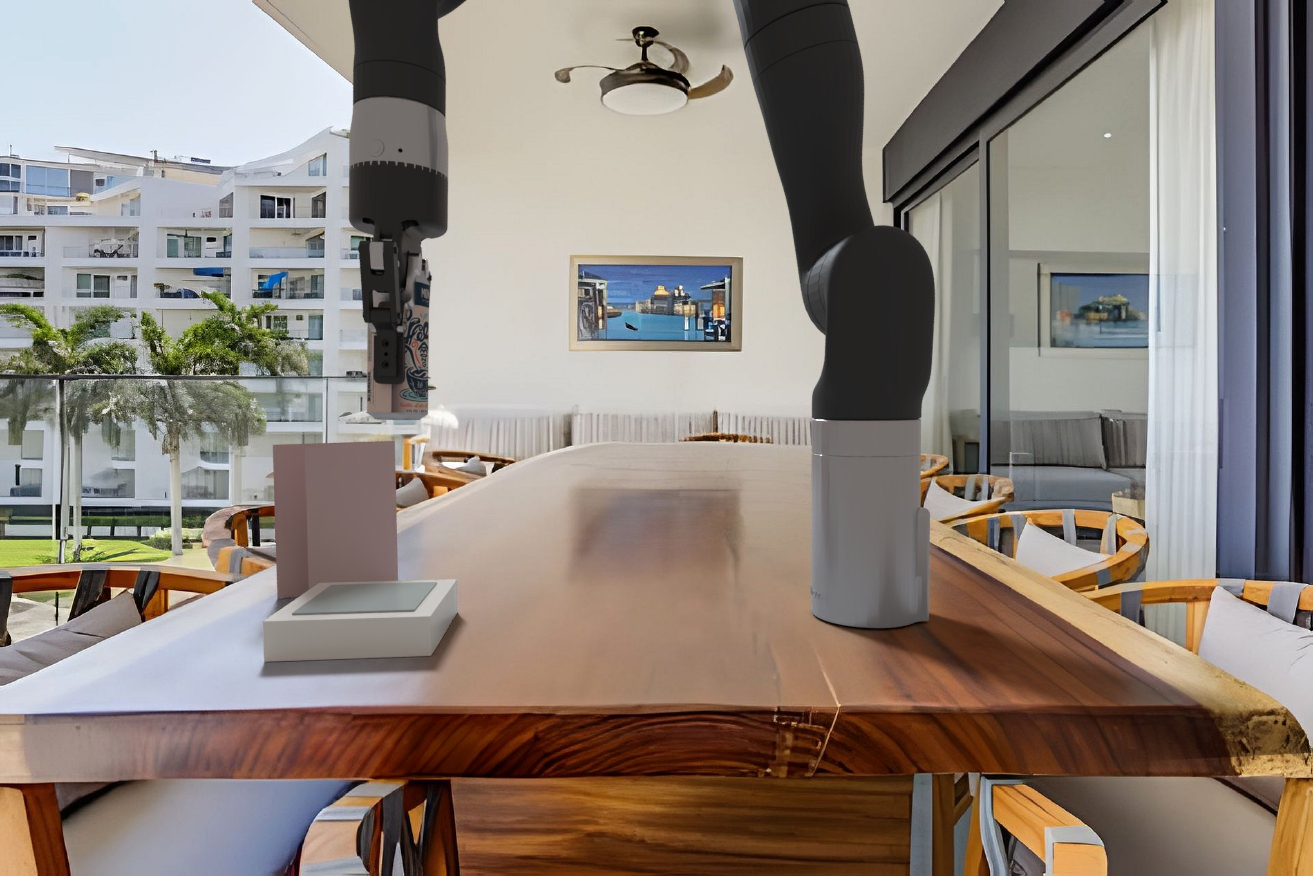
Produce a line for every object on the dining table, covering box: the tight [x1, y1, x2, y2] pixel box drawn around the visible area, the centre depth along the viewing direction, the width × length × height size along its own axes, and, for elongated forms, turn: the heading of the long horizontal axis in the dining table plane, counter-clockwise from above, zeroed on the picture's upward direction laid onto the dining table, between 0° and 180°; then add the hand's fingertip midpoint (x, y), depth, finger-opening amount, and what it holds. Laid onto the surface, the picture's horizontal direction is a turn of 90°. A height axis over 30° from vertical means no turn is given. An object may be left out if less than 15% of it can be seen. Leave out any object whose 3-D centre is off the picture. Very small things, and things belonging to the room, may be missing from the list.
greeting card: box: [272, 440, 399, 600], centre depth 75 cm, size 11×7×15 cm, turn 121°
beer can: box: [365, 270, 430, 421], centre depth 62 cm, size 5×5×12 cm
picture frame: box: [262, 578, 459, 663], centre depth 63 cm, size 12×12×3 cm
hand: (397, 383), depth 62 cm, fingers closed on beer can, 4 cm apart
